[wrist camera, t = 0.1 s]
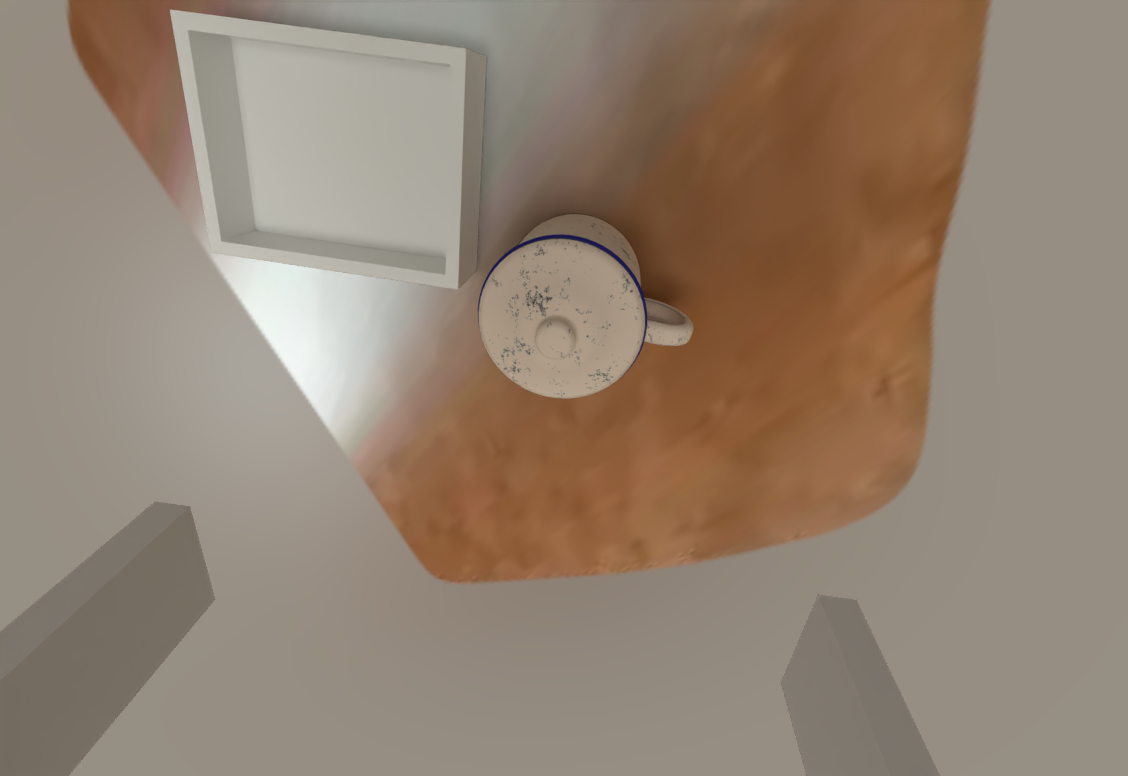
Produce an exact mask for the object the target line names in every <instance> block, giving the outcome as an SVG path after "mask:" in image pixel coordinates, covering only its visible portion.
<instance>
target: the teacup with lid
mask: <svg viewBox="0 0 1128 776" xmlns="http://www.w3.org/2000/svg"><path fill="white" fill-rule="evenodd" d="M647 319H650V320H647ZM651 320H654V321H651ZM655 321H656V322H655ZM478 322H479V328H480V333H481V337H482V340H483V343H484V345H485V348H486V350H487V352H488V354H489V355H490V357H491V359H492V360H493V362H494V363H495V364H496V366H497V367H498V368H499V369H500V370H501V371H502V372H503V373H504V374H505V375H506V376H507V377H508V378H509V379H511V380H512V381H513V382H515V383H516V384H518V385H519V386H521V387H523V388H525V389H527V390H529V391H531V392H534V393H536V394H539V395H543V396H547V397H553V398H577V397H583V396H587V395H591V394H593V393H596V392H599V391H601V390H603V389H605V388H606V387H608V386H610V385H611V384H613V383H614V382H615V381H617V380H618V379H619V378H620V377H622V376H623V375H624V374H625V373H626V372H627V371H628V369H629V368H630V367H631V366H632V364H633V363H634V362H635V360H636V358H637V357H638V355H639V353H640V351H641V349H642V346H643V343H644V342H648V343H653V344H658V345H664V346H679V345H683V344H685V343H687V342H688V341H689V340H690V338H691V335H692V332H693V324H692V322H691V320H690V319H689V318H688V317H687V316H686V315H685V314H684V313H683V312H681V311H680V310H678V309H676V308H674V307H672V306H670V305H668V304H665V303H662V302H659V301H656V300H653V299H649V298H645V297H644V295H643V291H642V289H641V279H640V269H639V264H638V261H637V257H636V255H635V253H634V251H633V249H632V247H631V245H630V244H629V242H628V241H627V240H626V238H625V237H624V236H623V235H622V234H621V233H620V232H619V231H618V230H617V229H615V228H614V227H613V226H611V225H610V224H608V223H607V222H605V221H603V220H600V219H598V218H595V217H592V216H588V215H581V214H568V215H561V216H557V217H554V218H551V219H549V220H546V221H544V222H543V223H541V224H539V225H538V226H536V227H535V228H534V229H533V230H531V231H530V232H529V233H528V234H527V235H526V237H525V238H524V239H523V240H522V241H521V242H520V244H519V245H517V246H516V247H514V248H512V249H511V250H510V251H508V252H507V253H506V254H505V255H504V256H503V257H502V258H500V259H499V261H498V262H497V263H496V264H495V265H494V266H493V268H492V269H491V271H490V272H489V274H488V276H487V278H486V280H485V282H484V284H483V287H482V290H481V293H480V298H479V303H478Z"/></svg>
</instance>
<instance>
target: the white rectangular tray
mask: <svg viewBox="0 0 1128 776" xmlns="http://www.w3.org/2000/svg"><path fill="white" fill-rule="evenodd" d="M170 13H171V19H172V25H173V31H174V37H175V43H176V49H177V54H178V60H179V66H180V72H181V78H182V84H183V90H184V96H185V102H186V108H187V114H188V119H189V125H190V131H191V137H192V143H193V149H194V155H195V161H196V167H197V173H198V179H199V185H200V190H201V196H202V202H203V208H204V214H205V220H206V226H207V232H208V238H209V244H210V250H211V253H217V254H224V255H230V256H237V257H244V258H250V259H257V260H264V261H270V262H277V263H284V264H290V265H297V266H304V267H310V268H317V269H324V270H330V271H337V272H344V273H350V274H357V275H364V276H370V277H377V278H384V279H390V280H397V281H404V282H410V283H417V284H424V285H430V286H437V287H444V288H450V289H457V290H458V289H459V288H460V287H461V286H462V285H463V284H464V283H465V282H466V281H467V280H468V279H469V278H470V277H471V276H472V275H473V274H474V273H475V272H476V269H477V248H478V228H479V207H480V186H481V166H482V145H483V125H484V104H485V84H486V63H487V57H486V56H484V55H481V54H479V53H476V52H474V51H471V50H469V49H466V48H459V47H452V46H444V45H436V44H429V43H421V42H414V41H406V40H398V39H391V38H383V37H375V36H368V35H360V34H352V33H345V32H337V31H330V30H322V29H314V28H307V27H299V26H291V25H284V24H276V23H268V22H261V21H253V20H246V19H238V18H230V17H223V16H215V15H207V14H200V13H192V12H184V11H177V10H170Z"/></svg>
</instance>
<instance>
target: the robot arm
mask: <svg viewBox="0 0 1128 776" xmlns="http://www.w3.org/2000/svg"><path fill="white" fill-rule="evenodd" d="M214 600H215V597H214V593H213V589H212V585H211V582H210V578H209V574H208V571H207V567H206V563H205V560H204V556H203V553H202V549H201V545H200V542H199V538H198V534H197V530H196V527H195V523H194V519H193V516H192V513H191V508H190V506H183V505H176V504H168V503H162V502H154V503H153V504H152V505H150V507H148V508H147V509H146V510H144V511H143V512H142V513H141V514H140V515H139V516H138V517H136V518H135V519H134V520H133V521H132V522H130V523H129V524H128V525H127V526H125V527H124V528H123V529H122V530H121V531H120V532H118V533H117V534H116V535H115V536H114V537H112V538H111V539H110V540H109V541H108V542H106V543H105V544H104V545H103V546H102V547H100V548H99V549H98V550H97V551H96V552H95V553H93V554H92V555H91V556H90V557H89V558H87V559H86V560H85V561H84V562H83V563H81V564H80V565H79V566H78V567H77V568H76V569H74V570H73V571H72V572H71V573H70V574H68V575H67V576H66V577H65V578H64V579H62V580H61V581H60V582H59V583H58V584H56V585H55V586H54V587H53V588H52V589H51V590H49V591H48V592H47V593H46V594H45V595H43V596H42V597H41V598H40V599H39V600H38V601H36V602H35V603H34V604H33V605H31V606H30V607H29V608H28V609H27V610H26V611H24V612H23V613H22V614H21V615H20V616H18V617H17V618H16V619H15V620H14V621H12V622H11V623H10V624H9V625H8V626H6V627H5V628H4V629H3V630H2V631H1V632H0V776H69V775H70V774H71V772H72V771H73V770H74V769H75V768H76V766H77V765H78V764H79V763H80V762H81V760H82V759H83V758H84V757H85V756H86V754H87V753H88V752H89V751H90V749H91V748H92V747H93V746H94V745H95V743H96V742H97V741H98V740H99V739H100V737H101V736H102V735H103V734H104V733H105V731H106V730H107V729H108V728H109V727H110V725H111V724H112V723H113V722H114V721H115V719H116V718H117V717H118V716H119V715H120V713H121V712H122V711H123V710H124V709H125V707H126V706H127V705H128V704H129V702H130V701H131V700H132V699H133V698H134V697H135V695H136V694H137V693H138V692H139V691H140V689H141V688H142V687H143V686H144V684H145V683H146V682H147V681H148V680H149V678H150V677H151V676H152V675H153V674H154V672H155V671H156V670H157V669H158V668H159V666H160V665H161V664H162V663H163V662H164V660H165V659H166V658H167V656H168V655H169V654H170V653H171V652H172V651H173V650H174V648H175V647H176V646H177V645H178V644H179V642H180V641H181V640H182V639H183V638H184V636H185V635H186V634H187V633H188V632H189V630H190V629H191V628H192V627H193V625H194V624H195V623H196V622H197V621H198V619H199V618H200V617H201V616H202V615H203V613H204V612H205V611H206V610H207V609H208V607H209V606H210V605H211V604H212V603H213V601H214ZM781 685H782V689H783V692H784V696H785V700H786V703H787V706H788V711H789V714H790V718H791V721H792V725H793V728H794V732H795V736H796V740H797V743H798V747H799V751H800V754H801V758H802V762H803V765H804V769H805V773H806V776H940V774H939V772H938V770H937V768H936V766H935V764H934V762H933V760H932V758H931V756H930V753H929V751H928V749H927V747H926V745H925V743H924V741H923V739H922V737H921V734H920V732H919V730H918V728H917V726H916V724H915V722H914V720H913V718H912V716H911V714H910V711H909V709H908V707H907V705H906V703H905V701H904V699H903V697H902V695H901V692H900V690H899V688H898V686H897V684H896V682H895V680H894V678H893V676H892V674H891V671H890V670H889V667H888V665H887V663H886V661H885V659H884V657H883V655H882V653H881V650H880V648H879V646H878V644H877V642H876V640H875V638H874V636H873V634H872V631H871V629H870V627H869V625H868V623H867V621H866V619H865V617H864V614H863V613H862V611H861V608H860V606H859V604H858V602H857V600H853V599H846V598H838V597H832V596H825V595H818V596H817V598H816V601H815V603H814V605H813V608H812V610H811V612H810V615H809V617H808V620H807V622H806V625H805V627H804V629H803V631H802V634H801V636H800V639H799V641H798V643H797V645H796V648H795V651H794V653H793V655H792V657H791V660H790V662H789V664H788V667H787V669H786V671H785V674H784V676H783V679H782V681H781Z"/></svg>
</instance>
